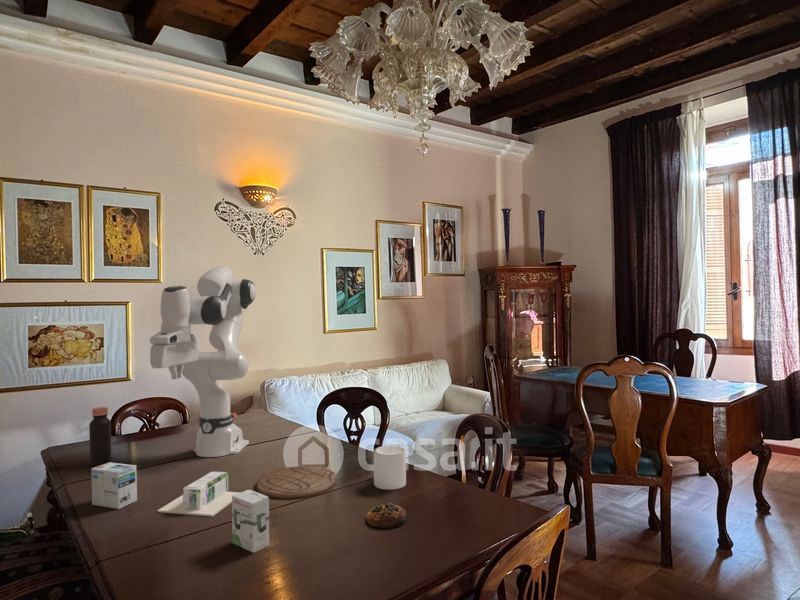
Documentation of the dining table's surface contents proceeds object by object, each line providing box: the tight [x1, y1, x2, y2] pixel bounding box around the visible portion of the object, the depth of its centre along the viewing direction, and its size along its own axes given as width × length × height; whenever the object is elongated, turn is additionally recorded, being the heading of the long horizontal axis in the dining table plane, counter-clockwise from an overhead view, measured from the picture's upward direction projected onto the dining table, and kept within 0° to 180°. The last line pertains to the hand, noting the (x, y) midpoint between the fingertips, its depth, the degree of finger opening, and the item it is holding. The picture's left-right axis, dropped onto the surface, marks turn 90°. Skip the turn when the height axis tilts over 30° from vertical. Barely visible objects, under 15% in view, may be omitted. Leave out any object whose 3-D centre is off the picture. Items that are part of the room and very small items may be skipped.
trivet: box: [256, 465, 337, 500], centre depth 162 cm, size 25×25×2 cm
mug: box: [373, 445, 407, 490], centre depth 163 cm, size 14×10×11 cm
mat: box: [157, 491, 241, 517], centre depth 147 cm, size 16×17×1 cm
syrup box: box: [182, 471, 229, 509], centre depth 149 cm, size 6×6×14 cm
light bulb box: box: [91, 461, 138, 510], centre depth 148 cm, size 11×7×11 cm, turn 71°
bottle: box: [88, 406, 112, 467], centre depth 185 cm, size 7×7×20 cm
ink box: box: [231, 489, 270, 553], centre depth 122 cm, size 9×5×12 cm, turn 54°
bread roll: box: [365, 502, 407, 529], centre depth 135 cm, size 11×11×5 cm
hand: (176, 378), depth 164 cm, fingers closed
